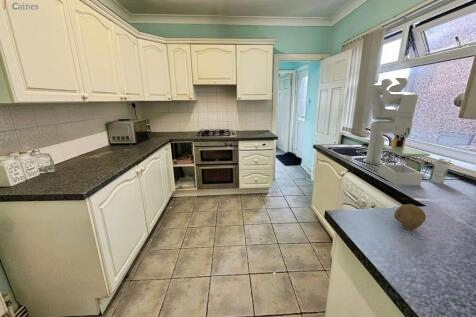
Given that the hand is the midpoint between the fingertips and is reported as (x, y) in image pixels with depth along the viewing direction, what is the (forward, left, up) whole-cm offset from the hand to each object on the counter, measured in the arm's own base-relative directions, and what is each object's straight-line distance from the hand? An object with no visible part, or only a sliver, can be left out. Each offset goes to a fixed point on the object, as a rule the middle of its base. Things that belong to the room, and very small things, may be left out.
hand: (397, 145), depth 128 cm
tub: (+7, 0, -20) cm, 21 cm away
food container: (-7, +19, -20) cm, 29 cm away
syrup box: (+8, +21, -20) cm, 30 cm away
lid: (+6, 0, -3) cm, 7 cm away
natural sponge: (+56, -27, -20) cm, 65 cm away
